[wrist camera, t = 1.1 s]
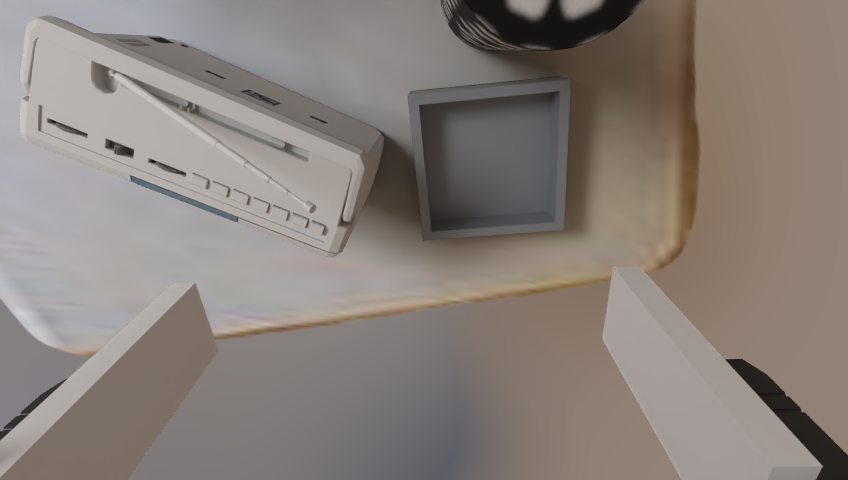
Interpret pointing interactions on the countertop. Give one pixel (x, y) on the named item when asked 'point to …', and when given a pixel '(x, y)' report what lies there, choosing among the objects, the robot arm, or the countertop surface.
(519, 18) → the spotted tube
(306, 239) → the stereo radio cassette player
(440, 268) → the countertop surface
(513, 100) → the tray
